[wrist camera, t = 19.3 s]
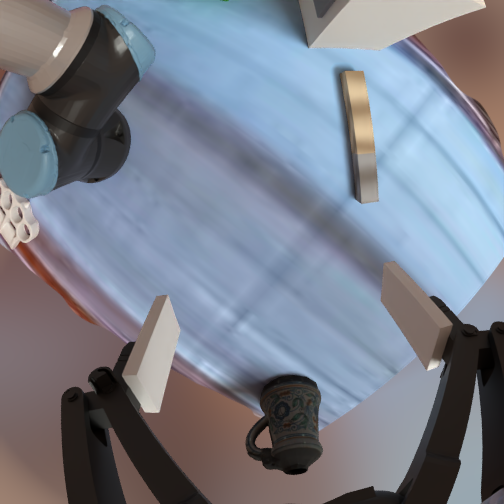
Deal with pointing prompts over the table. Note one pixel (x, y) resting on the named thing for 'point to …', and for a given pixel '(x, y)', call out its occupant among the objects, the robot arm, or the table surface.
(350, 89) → the lever bar
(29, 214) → the white flat holed piece
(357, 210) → the table surface
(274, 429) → the beer stein
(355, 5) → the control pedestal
